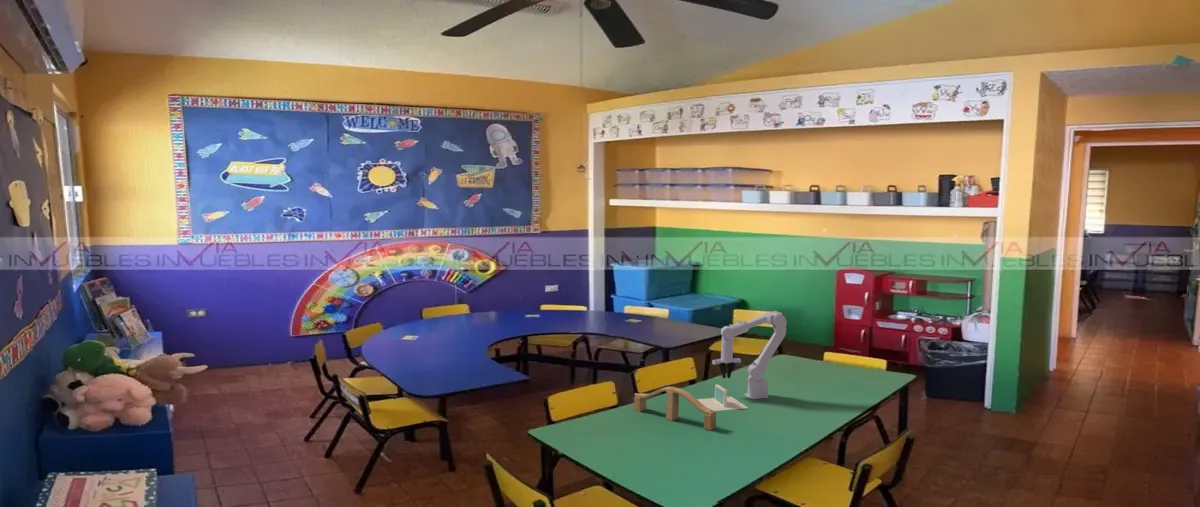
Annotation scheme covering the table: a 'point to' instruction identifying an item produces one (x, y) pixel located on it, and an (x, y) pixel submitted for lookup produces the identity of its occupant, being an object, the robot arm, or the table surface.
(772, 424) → the table surface
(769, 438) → the table surface
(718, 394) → the tile
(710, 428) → the toy bridge
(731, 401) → the mat
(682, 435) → the table surface
